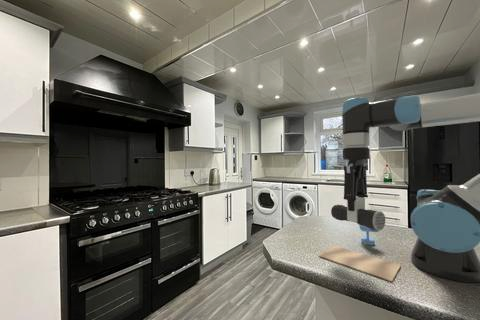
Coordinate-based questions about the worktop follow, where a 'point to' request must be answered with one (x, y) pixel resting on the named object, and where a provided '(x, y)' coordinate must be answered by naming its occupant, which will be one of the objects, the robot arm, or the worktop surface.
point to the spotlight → (367, 239)
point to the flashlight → (361, 217)
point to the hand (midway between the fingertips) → (356, 218)
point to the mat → (362, 263)
